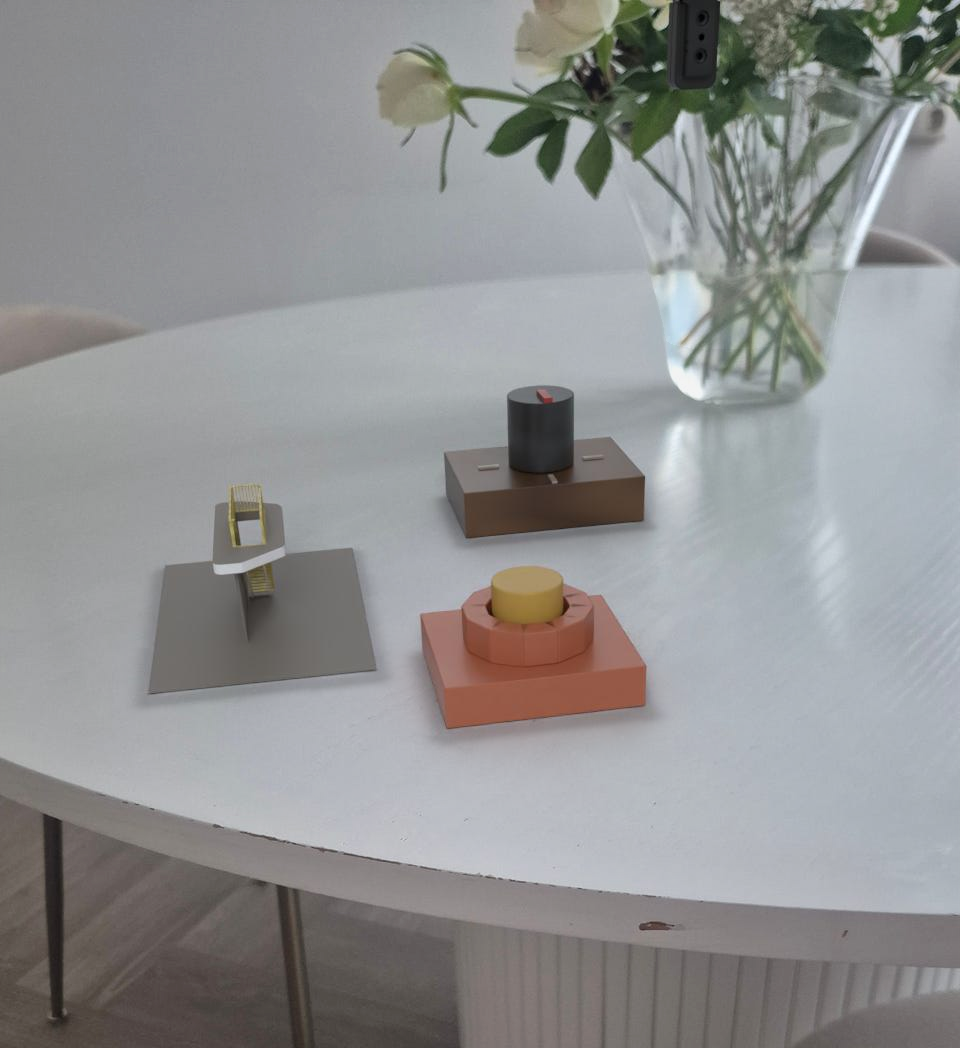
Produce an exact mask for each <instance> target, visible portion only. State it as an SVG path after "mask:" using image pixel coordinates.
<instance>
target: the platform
mask: <svg viewBox="0 0 960 1048" xmlns="http://www.w3.org/2000/svg"><path fill="white" fill-rule="evenodd" d="M243 487H244V489H243ZM246 487H247V488H246ZM253 487H254V490H253ZM256 487H257V488H256ZM240 488H241V489H240ZM250 488H251V490H250ZM237 489H238V492H237ZM247 490H248V493H247ZM250 491H251V492H250ZM234 492H235V493H234ZM244 492H245V494H244ZM257 492H258V495H257ZM262 492H263V491H262V486H261V483H251V484H241V485H229V486H228V501H226V502H219V503H216V504H215V505H214V519H213V520H214V521H213V522H214V523H213V542H212V543H213V544H212V560H207V561H206V560H205V561H197V562H196V561H195V562H184V563H175V564H174V563H173V564H165V565H164V570H163V579H162V586H161V595H160V601H159V609H158V617H157V623H156V624H157V625H156V632H155V641H154V647H153V655H152V662H151V670H150V678H149V685H148V692H147V693H148V695H149V694H156V693H157V694H158V693H169V692H177V691H186V690H197V689H205V688H215V687H225V686H226V687H227V686H233V685H243V684H252V683H253V684H255V683H263V682H273V681H282V680H291V679H299V678H300V679H301V678H311V677H320V676H321V677H322V676H329V675H338V674H349V673H358V672H359V673H360V672H368V671H376V670H377V666H376V660H375V656H374V650H373V646H372V642H371V636H370V631H369V626H368V621H367V615H366V610H365V605H364V601H363V595H362V591H361V587H360V582H359V575H358V572H357V567H356V561H355V555H354V551H353V547H344V548H334V549H323V550H313V551H301V552H291V553H290V552H289V553H287V547H286V545H287V544H286V534H285V523H284V511H283V506H281V505H280V504H278V503H273V502H264V500H263V494H262ZM241 493H242V494H241ZM254 493H255V496H254ZM234 494H235V495H234ZM241 495H242V497H241ZM251 496H252V499H251ZM235 497H236V499H235ZM238 497H239V500H238ZM248 497H249V500H248ZM245 498H246V499H245ZM235 500H236V501H235ZM245 500H246V501H245ZM258 520H259V522H260V530H261V537H262V543H254V544H253V543H252V544H242V542H241V535H240V528H239V524H238V523H239V522H248V521H249V522H250V521H258Z"/></svg>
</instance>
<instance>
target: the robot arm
mask: <svg viewBox="0 0 960 1048" xmlns="http://www.w3.org/2000/svg"><path fill="white" fill-rule="evenodd" d="M665 1H670V0H665ZM721 3H722V2H721V0H672V2H669V5H668V27H667V28H668V29H667V51H666V53H667V55H666V76H665V77H666V83H667V85H668V86H669V87H670V88H672V89H677V90H681V91H687V90H704V89H705V90H706V89H710V88H712V86H713V85H714V84H715V83H716V80H717V71H718V69H717V67H718V54H719V53H718V52H719V35H720V17H721Z"/></svg>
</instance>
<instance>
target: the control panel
mask: <svg viewBox="0 0 960 1048" xmlns="http://www.w3.org/2000/svg"><path fill="white" fill-rule="evenodd" d="M443 461H444V463H443V464H444V478H445V479H444V481H445V494H446V496H447V498H448V500H449V503H450V505H451V507H452V510H453V512H454V514H455V516H456V518H457V520H458V524H459V525H460V527H461V530H462V531H463V534H464V536H465V538H467V539H469V538H478V537H489V536H498V535H508V534H519V533H530V532H538V531H548V530H549V531H550V530H559V529H560V530H561V529H569V528H570V529H571V528H579V527H590V526H600V525H610V524H621V523H630V522H639V521H644V520H645V497H646V496H645V494H646V493H645V492H646V489H645V488H646V475H645V474H644V473H643V472H642V471H641V469H639V467H637V465H636V464H635V463H634V462H633V461H632V460H631V458H630V457H629V456H628V455H627V454H626V452H624V450H623V449H622V448H621V447H620V446H619V445H618V443H617V442H616V441H615V440H614V439H613V437H611V436H604V437H602V436H601V437H593V438H581V439H574V462H573V464H572V465H571V466H570V467H568V468H566V469H563V470H559V471H555V472H547V473H531V472H523V471H519V470H516V469H513V468H512V467H510V465H509V460H508V445H505V446H504V445H503V446H494V447H493V446H492V447H483V448H471V449H460V450H449V451H444V452H443Z"/></svg>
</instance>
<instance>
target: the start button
mask: <svg viewBox="0 0 960 1048" xmlns="http://www.w3.org/2000/svg"><path fill="white" fill-rule="evenodd" d="M563 583H564V578H563V576H562V574H561V573H559V572H558V571H557V570H555V569H552V568H549V567H544V566H537V565H520V566H514V567H509V568H506V569H503V570H500V571H498V572H497V573H495V574H493V576H492V577H491V580H490V586H491V599H492V614H493V616H494V617H495V618H497V619H499V620H502V621H507V622H516V623H524V624H528V623H538V622H547V621H550V620H552V619H555V618H557V617H560V616H561V614H562V613H563Z"/></svg>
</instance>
